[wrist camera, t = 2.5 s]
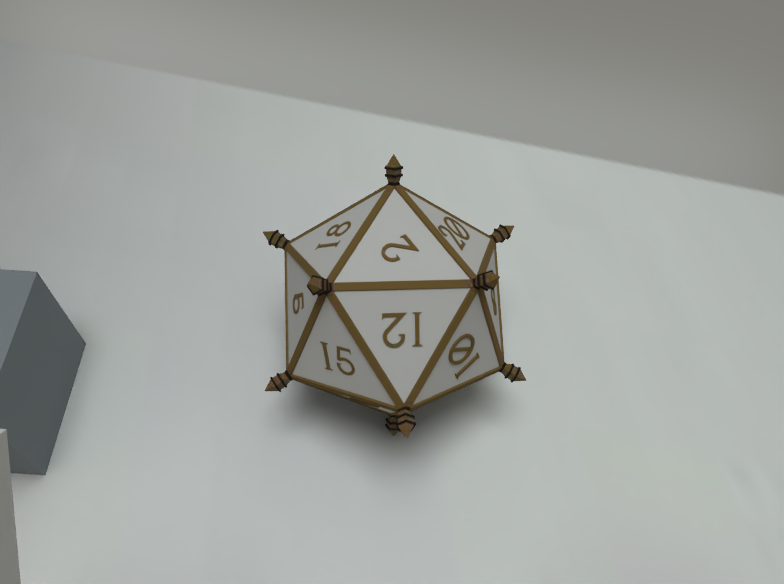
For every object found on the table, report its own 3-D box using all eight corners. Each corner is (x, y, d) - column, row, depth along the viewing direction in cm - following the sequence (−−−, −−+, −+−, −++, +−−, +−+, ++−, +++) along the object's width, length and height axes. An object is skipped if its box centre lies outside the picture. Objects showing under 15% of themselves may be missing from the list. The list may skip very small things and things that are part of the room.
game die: (363, 359, 31) (359, 125, 28) (551, 412, 27) (576, 144, 23) (215, 462, 24) (184, 164, 20) (441, 555, 20) (452, 202, 16)
